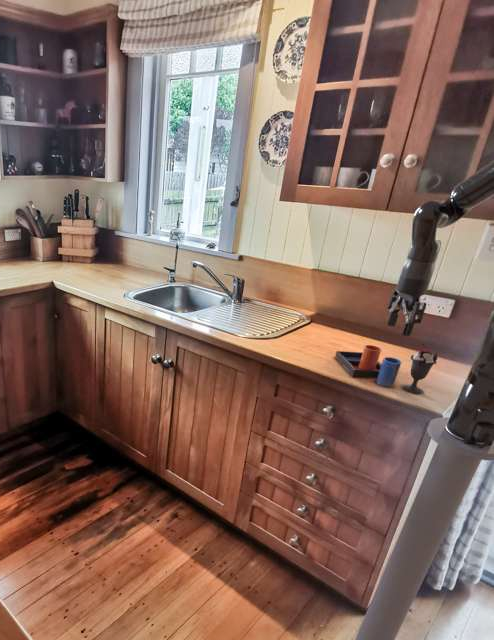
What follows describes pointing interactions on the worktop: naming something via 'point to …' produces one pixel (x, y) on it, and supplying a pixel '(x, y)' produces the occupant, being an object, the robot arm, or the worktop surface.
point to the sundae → (420, 368)
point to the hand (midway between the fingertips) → (397, 330)
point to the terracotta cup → (369, 357)
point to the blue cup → (388, 372)
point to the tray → (355, 364)
